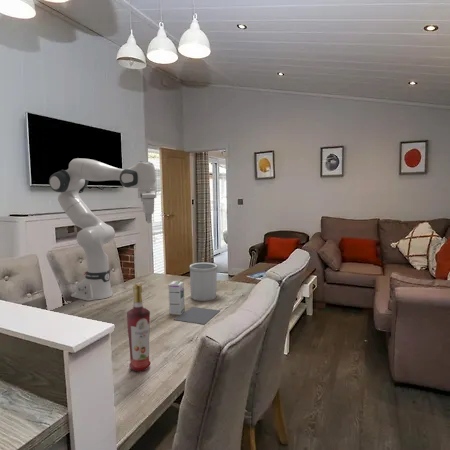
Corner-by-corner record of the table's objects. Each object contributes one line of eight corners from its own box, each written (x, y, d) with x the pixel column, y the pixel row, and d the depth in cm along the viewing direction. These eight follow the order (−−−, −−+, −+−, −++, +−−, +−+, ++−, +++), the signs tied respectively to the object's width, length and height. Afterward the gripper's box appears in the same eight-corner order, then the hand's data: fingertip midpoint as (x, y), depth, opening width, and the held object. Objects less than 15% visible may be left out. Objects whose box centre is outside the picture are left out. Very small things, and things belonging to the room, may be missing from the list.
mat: (174, 320, 158) (174, 319, 158) (192, 307, 174) (192, 306, 174) (204, 324, 152) (204, 323, 152) (220, 310, 169) (220, 310, 169)
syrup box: (181, 315, 164) (180, 284, 162) (169, 314, 165) (168, 284, 164) (184, 310, 170) (184, 281, 168) (173, 310, 171) (172, 280, 169)
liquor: (133, 376, 111) (130, 289, 108) (125, 366, 117) (122, 284, 114) (155, 369, 115) (152, 285, 112) (146, 360, 121) (143, 281, 118)
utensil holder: (221, 299, 187) (221, 266, 185) (194, 302, 181) (193, 269, 179) (212, 291, 200) (211, 261, 198) (186, 294, 195) (186, 263, 193)
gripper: (139, 194, 183) (140, 220, 184) (142, 194, 163) (143, 224, 164) (151, 194, 184) (152, 220, 186) (155, 194, 165) (157, 223, 166)
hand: (148, 222), depth 175 cm, fingers open, 8 cm apart
